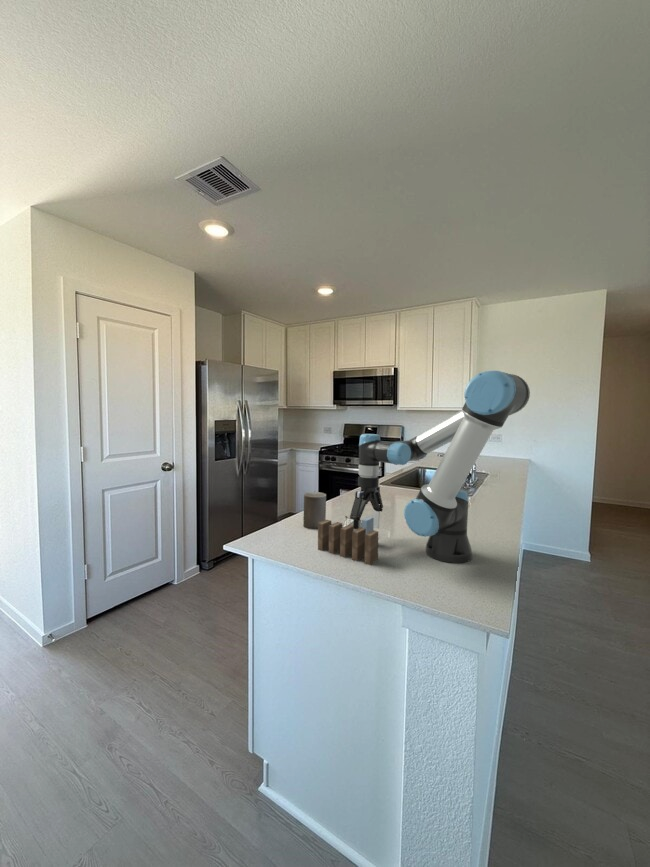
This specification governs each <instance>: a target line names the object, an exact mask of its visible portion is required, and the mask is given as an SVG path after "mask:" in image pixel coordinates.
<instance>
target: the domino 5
mask: <svg viewBox="0 0 650 867" xmlns="http://www.w3.org/2000/svg"><path fill="white" fill-rule="evenodd" d="M361 523H362V528H365V529H366V534H367V533H369V532H371V531H373V530H374V528H373V526H374V518H373V517H372V516H367V517H365V518H363V519H361Z"/></svg>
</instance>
